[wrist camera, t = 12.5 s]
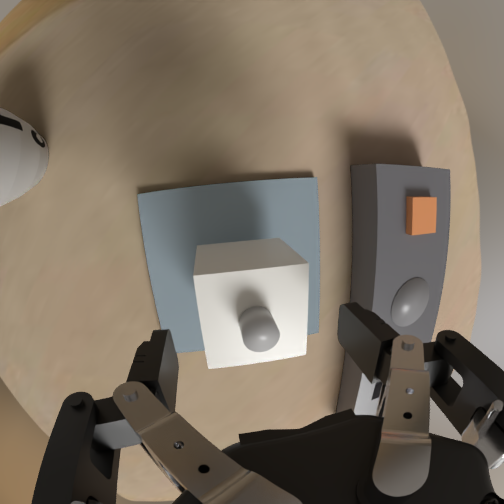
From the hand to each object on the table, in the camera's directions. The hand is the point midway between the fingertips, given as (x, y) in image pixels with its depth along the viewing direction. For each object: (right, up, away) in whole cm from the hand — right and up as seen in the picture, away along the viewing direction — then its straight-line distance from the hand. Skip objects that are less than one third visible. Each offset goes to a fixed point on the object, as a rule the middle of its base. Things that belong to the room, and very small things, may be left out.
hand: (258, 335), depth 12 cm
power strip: (+14, -3, +14) cm, 20 cm away
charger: (-1, +2, +10) cm, 10 cm away
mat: (-2, +2, +10) cm, 11 cm away
